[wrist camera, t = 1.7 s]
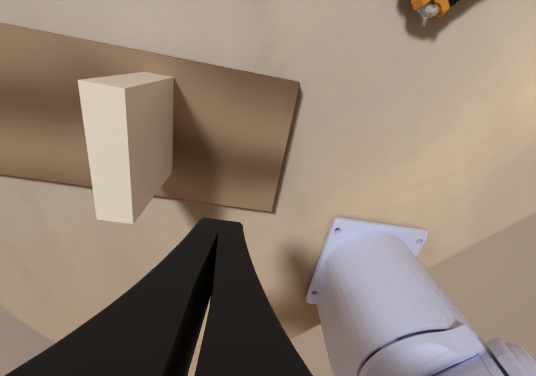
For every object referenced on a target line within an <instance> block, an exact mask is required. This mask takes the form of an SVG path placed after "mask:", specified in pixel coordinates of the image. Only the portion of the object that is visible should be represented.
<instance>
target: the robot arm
mask: <svg viewBox="0 0 536 376" xmlns="http://www.w3.org/2000/svg"><path fill="white" fill-rule="evenodd" d="M336 228H339V230H335V229H336ZM427 237H428V233H427V232H426V231H425V230H423V229H417V228H409V227H402V226H395V225H388V224H381V223H374V222H367V221H360V220H353V219H346V218H336V219H334V220H333V222H332V224H331V227H330V230H329V233H328V236H327V238H326V241H325V244H324V247H323V250H322V253H321V255H320V258H319V261H318V264H317V267H316V269H315V272H314V275H313V278H312V281H311V284H310V286H309V289H308V292H307V295H306V301H307V303H309V304H317V309H318V313H319V317H320V322H321V326H322V330H323V335H324V339H325V343H326V348H327V352H328V356H329V360H330V364H331V368H332V371H333V373H334V376H536V362H535V361H534V360H533V359H532V357H531V356H530V355H529V354H528V353H527V352H526V351H525V350H524V349H523V348H522V347H521V346H520V345H516V344H514V343H510V342H505V341H503V340H502V339H501V338H498V337H496V338H493V339H491V340H489V341H487V343H486V342H485V341H484V340H482V339H481V338H480V337H479V336H478V335H477V334H476V333H475V331H474V330H473V329H472V327H471V326H470V325H469V324H468V322H467V321H466V320H465V319H464V317H463V316H462V315H461V314H460V313H459V311H458V310H457V308H456V307H455V306H454V305H453V303H452V302H451V301H450V299H449V298H448V297H447V296H446V295H445V293H444V292H443V291H442V289H441V288H440V287H439V286H438V284H437V283H436V282H435V281H434V279H433V278H432V277H431V275H430V274H429V273H428V272H427V270H426V269H425V268H424V266H423V265H422V264H421V263H420V261H419V260H418V259H417V258H416V256H417V255H418V253H419V251H420V249H421V248H422V246H423V244H424V242H425V241H426V239H427ZM417 240H418V241H417ZM210 296H211V298H210ZM209 299H210V308H209V312H208V317H207V322H206V326H205V331H204V335H203V340H202V344H201V349H200V354H199V358H198V363H197V367H196V371H195V376H313V375H312V374H311V372H310V371H309V369H308V368H307V366H306V365H305V363H304V362H303V360H302V359H301V357H300V356H299V354H298V353H297V351H296V350H295V348H294V346H293V345H292V343H291V341H290V339H289V338H288V336H287V334H286V333H285V331H284V329H283V327H282V326H281V324H280V322H279V320H278V318H277V317H276V315H275V313H274V311H273V309H272V307H271V305H270V303H269V301H268V299H267V297H266V295H265V293H264V290H263V288H262V286H261V284H260V281H259V279H258V277H257V274H256V272H255V269H254V266H253V264H252V261H251V258H250V255H249V252H248V249H247V245H246V242H245V238H244V232H243V225H242V224H241V223H240V222H233V221H225V220H218V219H210V218H202V219H200V220H199V221H198V223H197V224H196V225H195V227H194V228H193V229H192V230H191V231H190V232H189V234H188V235H187V236H186V237H185V238H184V239H183V240H182V241H181V242H180V243H179V244H178V245H177V246H176V247H175V248H174V249H173V250H172V251H171V252H170V253H169V254H168V255H167V256H166V257H165V258H164V259H163V260H162V261H161V262H160V263H159V264H158V265H157V266H156V267H155V268H153V269H152V270H151V271H150V272H149V273H148V274H147V275H146V276H145V277H143V278H142V279H141V280H140V281H139V282H138V283H136V284H135V285H134V286H133V287H132V288H130V289H129V290H128V291H127V292H126V293H124V294H123V295H122V296H121V297H119V298H118V299H117V300H115V301H114V302H113V303H111V304H110V305H109V306H108V307H106V308H105V309H104V310H102V311H101V312H100V313H98V314H97V315H95V316H94V317H93V318H91V319H90V320H88V321H87V322H86V323H84V324H83V325H81V326H80V327H79V328H77V329H76V330H74V331H73V332H71V333H70V334H69V335H67V336H66V337H64V338H63V339H61V340H60V341H58V342H57V343H55V344H54V345H52V346H51V347H49V348H48V349H46V350H45V351H43V352H42V353H40V354H39V355H37V356H35V357H34V358H32V359H30V360H29V361H28V362H26V363H24V364H22V365H21V366H19V367H18V368H16V369H14V370H13V371H11V372H10V373H8V374H6V375H5V376H188V372H189V368H190V364H191V361H192V357H193V354H194V351H195V347H196V344H197V340H198V337H199V334H200V330H201V327H202V323H203V320H204V317H205V313H206V310H207V306H208V303H209Z"/></svg>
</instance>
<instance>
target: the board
mask: <svg viewBox="0 0 536 376" xmlns="http://www.w3.org/2000/svg"><path fill="white" fill-rule="evenodd" d="M139 72H149V73H154V74H159V75H165V76H170V77H174V92H173V152H172V173H171V175H170V176H169V177H168V179H167V180H166V181H165V183H164V184H163V185H162V187H161V188H160V189H159V190H158V192H157V193H156V194H155V196H161V197H168V198H175V199H182V200H190V201H197V202H204V203H211V204H218V205H225V206H233V207H240V208H247V209H254V210H261V211H269V212H272V207H273V203H274V198H275V194H276V189H277V185H278V180H279V176H280V171H281V167H282V162H283V158H284V153H285V149H286V144H287V140H288V135H289V131H290V126H291V122H292V117H293V113H294V108H295V104H296V99H297V95H298V90H299V86H300V82H297V81H292V80H287V79H282V78H277V77H272V76H267V75H262V74H257V73H252V72H247V71H242V70H237V69H232V68H227V67H222V66H216V65H211V64H206V63H201V62H196V61H191V60H186V59H181V58H176V57H171V56H166V55H161V54H156V53H151V52H146V51H141V50H136V49H131V48H125V47H120V46H115V45H110V44H105V43H100V42H95V41H90V40H85V39H80V38H75V37H70V36H65V35H60V34H55V33H50V32H45V31H40V30H34V29H29V28H24V27H19V26H14V25H9V24H4V23H0V174H3V175H10V176H17V177H24V178H31V179H39V180H46V181H53V182H60V183H67V184H75V185H82V186H89V187H92V180H91V173H90V166H89V159H88V152H87V144H86V137H85V130H84V123H83V116H82V108H81V101H80V94H79V87H78V80H81V79H89V78H98V77H106V76H114V75H122V74H130V73H139Z"/></svg>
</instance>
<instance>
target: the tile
mask: <svg viewBox="0 0 536 376" xmlns="http://www.w3.org/2000/svg"><path fill="white" fill-rule="evenodd" d="M78 87H79V94H80V101H81V108H82V116H83V123H84V130H85V137H86V144H87V152H88V159H89V166H90V173H91V180H92V188H93V195H94V202H95V209H96V216H97V219H99V220H107V221H115V222H122V223H130V224H133V223H134V222H135V221H136V219H137V218H138V217H139V216H140V214H141V213H142V212H143V210H144V209H145V208H146V206H147V205H148V204H149V202H150V201H151V200H152V198H153V197H154V196H155V194H156V193H157V192H158V190H159V189H160V188H161V187H162V185H163V184H164V183H165V181H166V180H167V179H168V177H169V176H170V175H171V173H172V152H173V92H174V77H170V76H165V75H159V74H154V73H149V72H139V73H130V74H122V75H114V76H106V77H98V78H89V79H81V80H78Z"/></svg>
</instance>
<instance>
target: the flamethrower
mask: <svg viewBox="0 0 536 376" xmlns="http://www.w3.org/2000/svg"><path fill="white" fill-rule="evenodd" d="M430 1H431V0H411V4H412V7H413V10H416V9H419V11H420V12H421V13H422V14H423V15H424V16H425V17H429V18H431V17H433V16H436V17H437V18H440V17H442V16H443V15H444V14H446V13H447V11H448V10H449V9H450V7H451V6H452V5H454V4H456V2H457V1H459V0H434V1H433V2H432V4H431V2H430Z"/></svg>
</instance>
